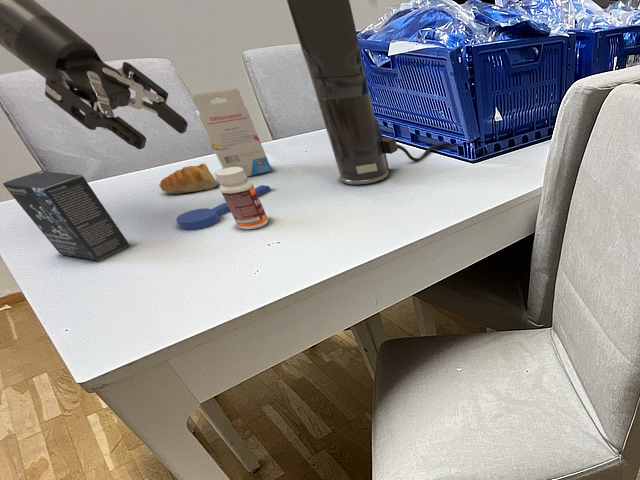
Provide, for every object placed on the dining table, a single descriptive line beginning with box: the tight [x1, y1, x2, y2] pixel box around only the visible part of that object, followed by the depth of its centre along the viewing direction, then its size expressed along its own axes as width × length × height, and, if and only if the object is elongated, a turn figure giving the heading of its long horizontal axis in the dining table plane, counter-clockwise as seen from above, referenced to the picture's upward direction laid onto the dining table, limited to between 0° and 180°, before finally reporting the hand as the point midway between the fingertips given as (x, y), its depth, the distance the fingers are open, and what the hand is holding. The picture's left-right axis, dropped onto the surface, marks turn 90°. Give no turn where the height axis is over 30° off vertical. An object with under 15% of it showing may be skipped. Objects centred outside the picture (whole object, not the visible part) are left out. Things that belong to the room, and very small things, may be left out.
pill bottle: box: [214, 167, 269, 230], centre depth 72 cm, size 5×5×8 cm
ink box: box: [191, 88, 273, 178], centre depth 89 cm, size 8×5×15 cm, turn 127°
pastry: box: [158, 163, 218, 195], centre depth 87 cm, size 9×7×4 cm
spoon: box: [175, 184, 271, 231], centre depth 80 cm, size 19×6×1 cm, turn 162°
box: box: [2, 169, 130, 262], centre depth 65 cm, size 8×6×11 cm
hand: (165, 136), depth 67 cm, fingers open, 8 cm apart
